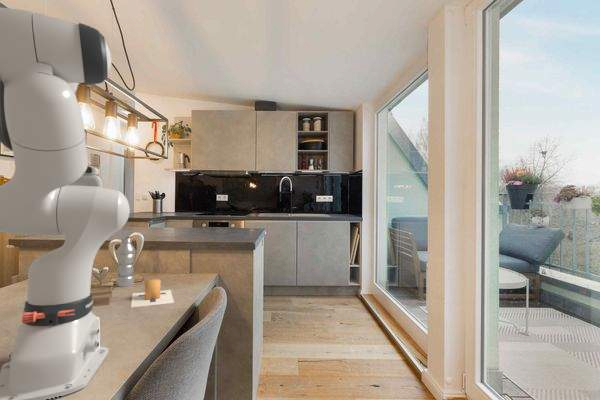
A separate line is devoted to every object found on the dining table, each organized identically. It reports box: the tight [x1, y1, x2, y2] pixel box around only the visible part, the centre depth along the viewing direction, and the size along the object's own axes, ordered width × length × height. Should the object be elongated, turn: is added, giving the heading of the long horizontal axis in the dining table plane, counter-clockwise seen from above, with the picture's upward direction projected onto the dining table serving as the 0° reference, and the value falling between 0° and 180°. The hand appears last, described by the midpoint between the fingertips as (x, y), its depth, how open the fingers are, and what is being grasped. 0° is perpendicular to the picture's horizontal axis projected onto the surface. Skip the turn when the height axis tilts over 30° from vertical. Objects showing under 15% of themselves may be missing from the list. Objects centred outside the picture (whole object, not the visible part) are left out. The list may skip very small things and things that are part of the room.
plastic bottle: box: [115, 236, 136, 288], centre depth 125 cm, size 6×7×20 cm
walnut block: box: [90, 289, 113, 308], centre depth 105 cm, size 9×8×4 cm
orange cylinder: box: [144, 278, 162, 300], centre depth 111 cm, size 5×5×6 cm
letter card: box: [130, 289, 175, 308], centre depth 111 cm, size 16×13×1 cm
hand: (63, 213), depth 95 cm, fingers open, 8 cm apart
